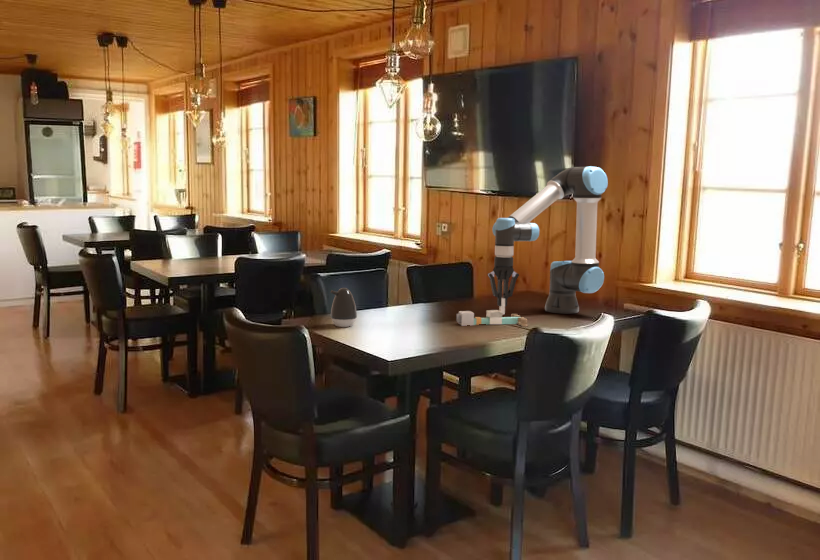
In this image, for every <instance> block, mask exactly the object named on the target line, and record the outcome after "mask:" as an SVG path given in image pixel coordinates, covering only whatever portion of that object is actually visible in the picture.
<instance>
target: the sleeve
mask: <svg viewBox="0 0 820 560" xmlns="http://www.w3.org/2000/svg"><path fill="white" fill-rule="evenodd" d="M485 313H486V317H485V318H490V323H489V324H488V325H503V324H502V317H503V314H502V312H501V311H499V309H486V311H485Z"/></svg>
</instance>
